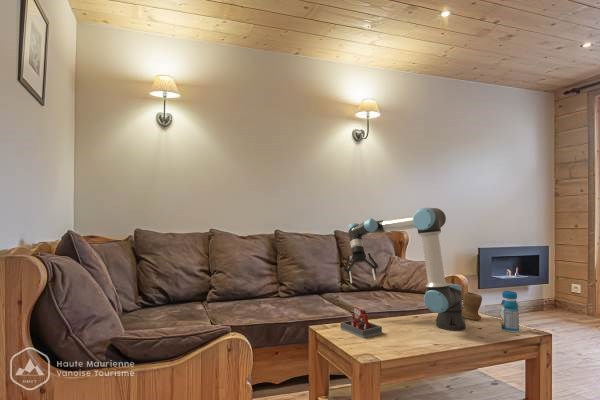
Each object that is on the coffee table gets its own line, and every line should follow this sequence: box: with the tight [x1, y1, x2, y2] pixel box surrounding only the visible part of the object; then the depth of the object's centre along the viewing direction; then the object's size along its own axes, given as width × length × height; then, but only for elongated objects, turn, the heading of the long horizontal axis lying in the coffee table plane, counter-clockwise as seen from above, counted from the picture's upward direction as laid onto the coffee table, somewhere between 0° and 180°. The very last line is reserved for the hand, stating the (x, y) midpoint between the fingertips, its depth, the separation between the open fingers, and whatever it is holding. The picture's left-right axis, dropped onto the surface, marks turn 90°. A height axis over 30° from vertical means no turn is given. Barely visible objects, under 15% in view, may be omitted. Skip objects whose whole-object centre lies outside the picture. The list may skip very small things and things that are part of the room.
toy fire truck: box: [351, 306, 371, 330], centre depth 195 cm, size 7×12×10 cm, turn 21°
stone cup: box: [462, 291, 483, 321], centre depth 222 cm, size 15×12×15 cm
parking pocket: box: [340, 319, 383, 339], centre depth 195 cm, size 17×13×4 cm
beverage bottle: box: [500, 290, 520, 333], centre depth 198 cm, size 8×8×20 cm
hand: (363, 281), depth 218 cm, fingers open, 13 cm apart
